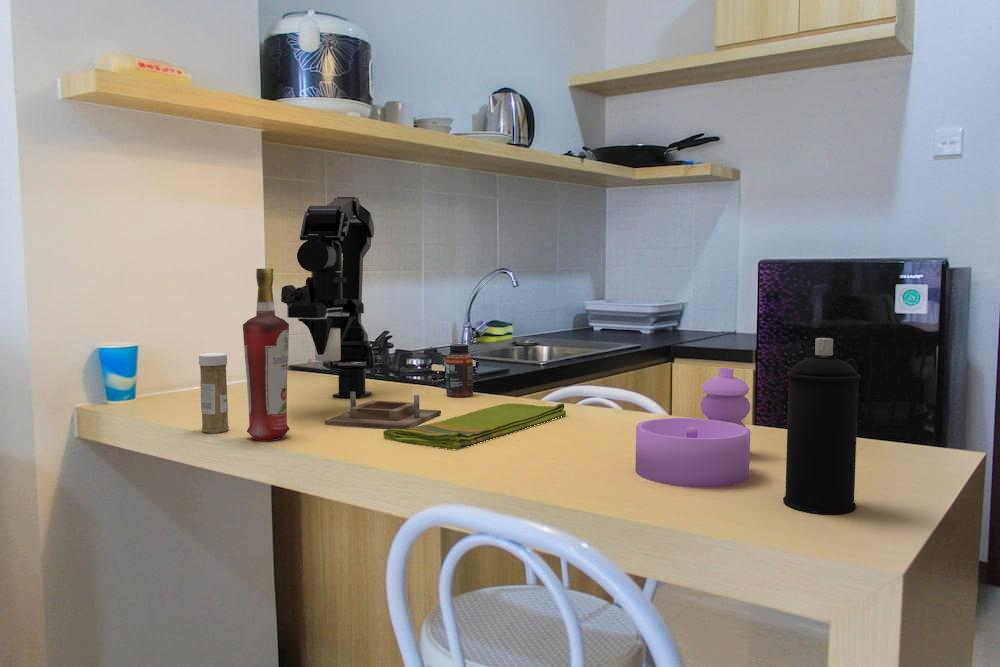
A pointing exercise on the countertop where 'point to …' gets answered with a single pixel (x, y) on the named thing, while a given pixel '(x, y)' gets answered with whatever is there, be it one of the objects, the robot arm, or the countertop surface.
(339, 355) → the roll
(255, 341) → the liquor
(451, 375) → the supplement bottle
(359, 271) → the robot arm
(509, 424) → the dish towel
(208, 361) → the spice jar
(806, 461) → the aerosol can
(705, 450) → the container set
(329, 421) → the holder
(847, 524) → the countertop surface
